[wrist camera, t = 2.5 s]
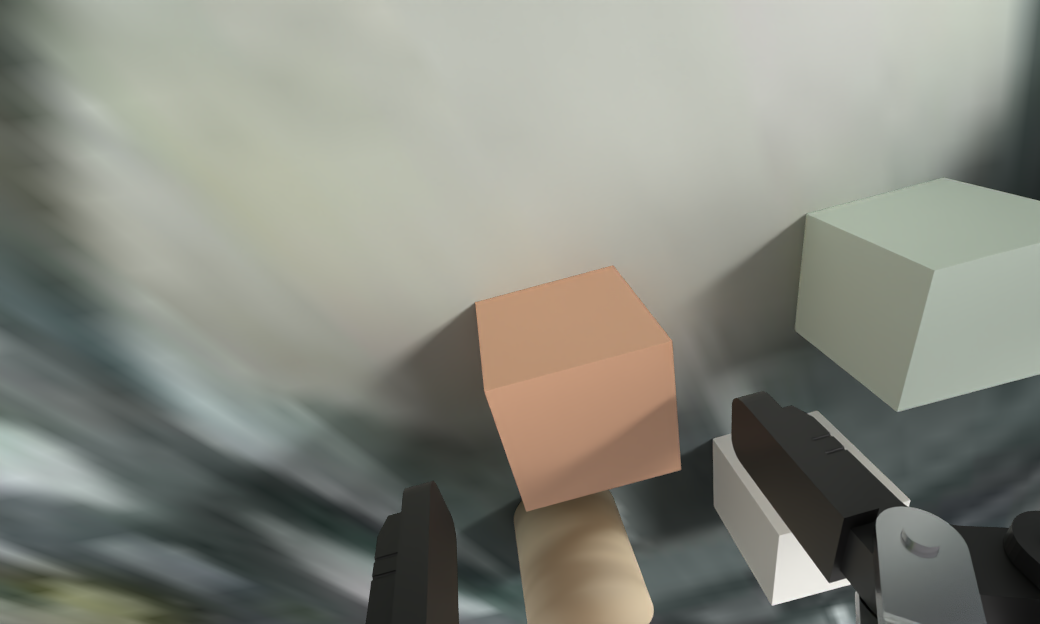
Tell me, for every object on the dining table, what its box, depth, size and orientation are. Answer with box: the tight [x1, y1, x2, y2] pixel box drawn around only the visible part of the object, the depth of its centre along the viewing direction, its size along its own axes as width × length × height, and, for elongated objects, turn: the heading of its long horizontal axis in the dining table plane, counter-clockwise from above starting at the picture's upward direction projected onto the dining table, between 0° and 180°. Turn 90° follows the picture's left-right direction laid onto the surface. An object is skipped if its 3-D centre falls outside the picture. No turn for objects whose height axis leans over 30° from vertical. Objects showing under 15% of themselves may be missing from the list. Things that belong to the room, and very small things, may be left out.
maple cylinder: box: [514, 490, 654, 624], centre depth 20 cm, size 5×5×5 cm
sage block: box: [795, 177, 1040, 412], centre depth 15 cm, size 5×5×5 cm
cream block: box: [713, 411, 910, 605], centre depth 20 cm, size 5×5×5 cm
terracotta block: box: [475, 266, 681, 512], centre depth 15 cm, size 5×5×5 cm
